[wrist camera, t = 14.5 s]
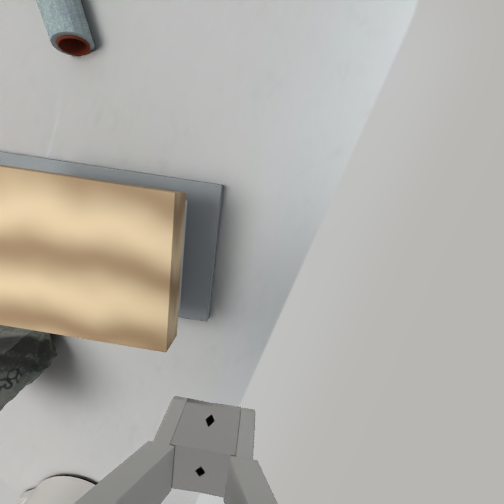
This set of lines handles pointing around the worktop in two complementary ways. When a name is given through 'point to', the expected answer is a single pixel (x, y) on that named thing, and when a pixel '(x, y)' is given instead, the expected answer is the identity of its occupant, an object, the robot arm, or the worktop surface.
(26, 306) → the oak slab
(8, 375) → the stone block
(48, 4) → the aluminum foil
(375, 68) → the worktop surface
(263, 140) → the worktop surface
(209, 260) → the roller bed
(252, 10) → the worktop surface
